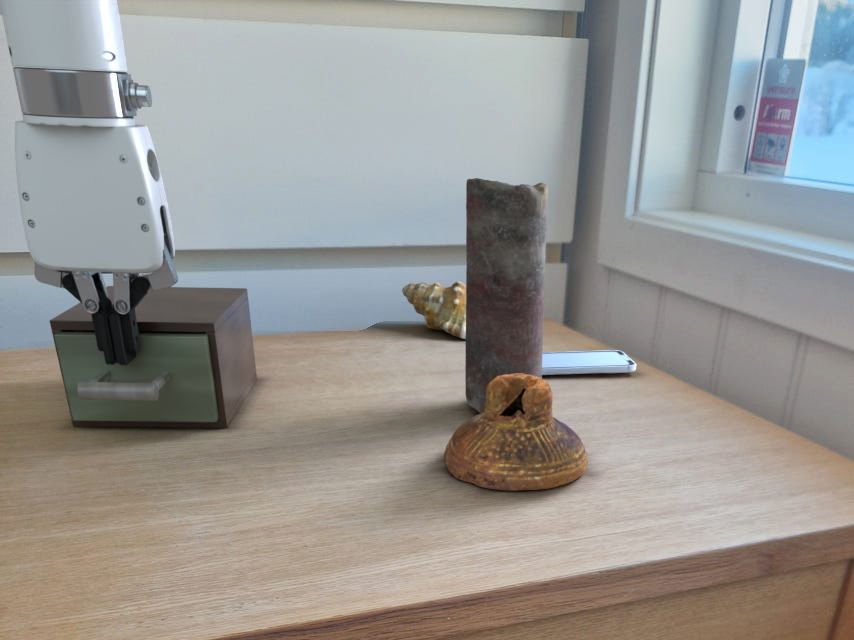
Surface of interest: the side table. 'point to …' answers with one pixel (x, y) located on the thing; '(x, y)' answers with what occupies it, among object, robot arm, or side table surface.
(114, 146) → the robot arm
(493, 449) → the bell
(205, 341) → the drawer
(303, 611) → the side table surface
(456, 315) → the seashell
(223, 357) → the cabinet
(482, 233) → the candle
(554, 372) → the smartphone
